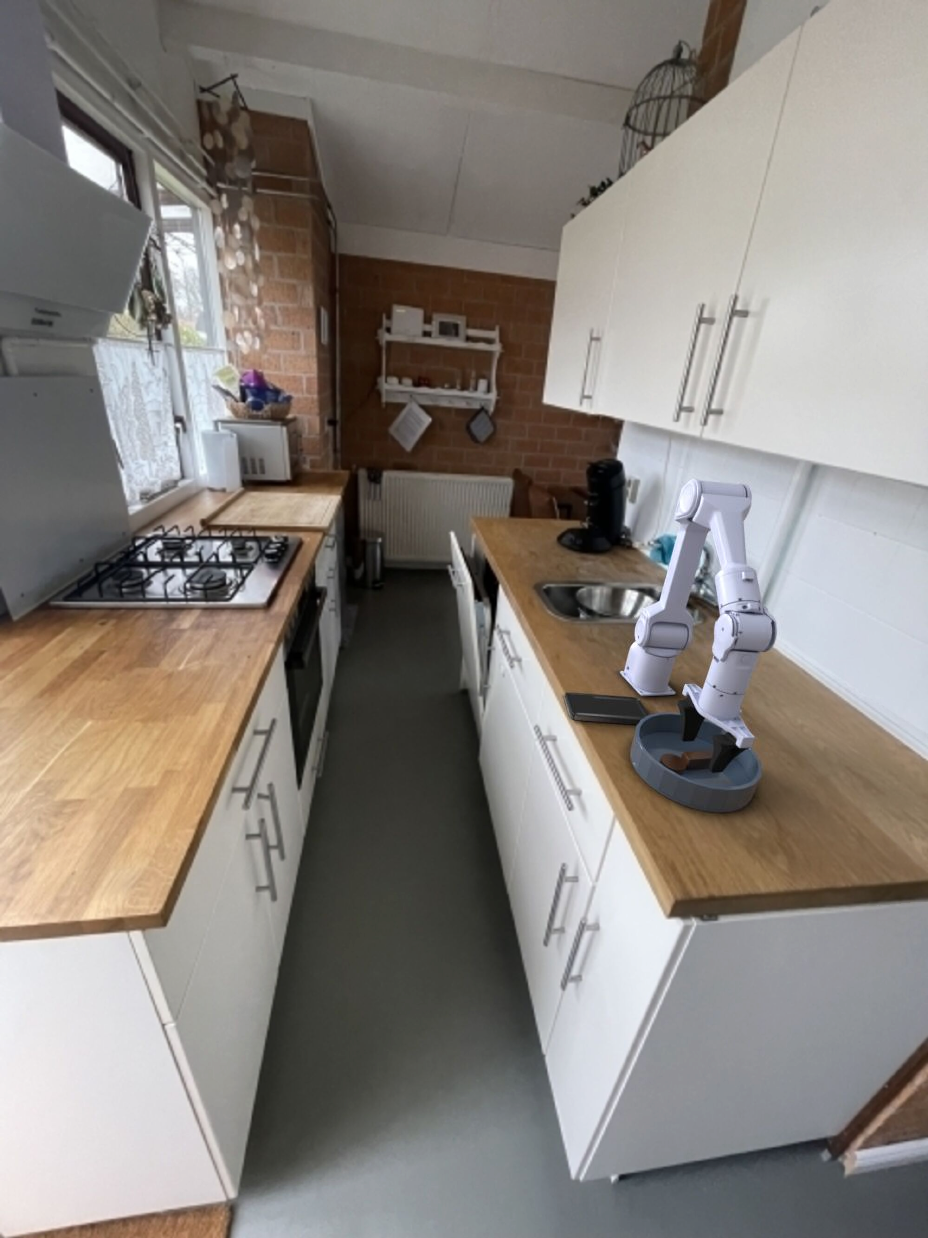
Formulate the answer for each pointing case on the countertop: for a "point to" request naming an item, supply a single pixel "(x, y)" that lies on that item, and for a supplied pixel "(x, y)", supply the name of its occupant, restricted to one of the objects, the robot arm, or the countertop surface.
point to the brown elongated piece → (687, 761)
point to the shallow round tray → (694, 785)
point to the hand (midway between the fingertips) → (701, 755)
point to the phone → (604, 708)
